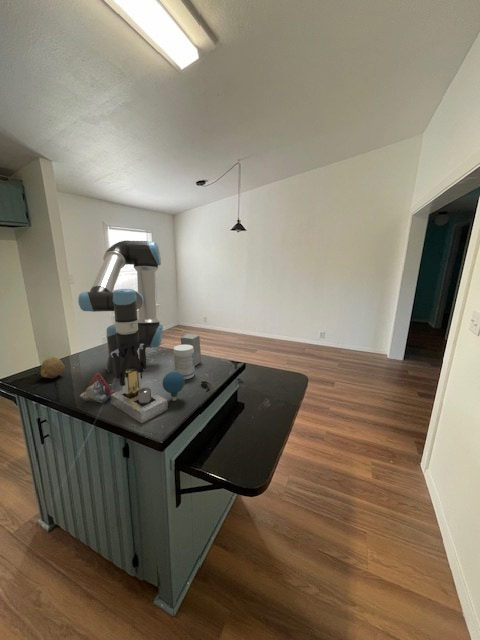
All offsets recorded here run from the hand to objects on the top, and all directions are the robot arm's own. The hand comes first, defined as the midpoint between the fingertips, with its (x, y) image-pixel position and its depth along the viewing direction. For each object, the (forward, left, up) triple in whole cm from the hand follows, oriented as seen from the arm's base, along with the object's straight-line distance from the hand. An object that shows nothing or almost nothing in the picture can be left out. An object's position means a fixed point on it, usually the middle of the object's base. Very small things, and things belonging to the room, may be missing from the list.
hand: (132, 389), depth 98 cm
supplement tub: (-3, +29, -6) cm, 30 cm away
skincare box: (-12, +42, -6) cm, 44 cm away
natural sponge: (-49, -10, -6) cm, 50 cm away
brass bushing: (0, 0, -4) cm, 4 cm away
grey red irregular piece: (-13, -6, -6) cm, 16 cm away
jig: (+4, 0, -6) cm, 7 cm away
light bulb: (+11, +11, -6) cm, 17 cm away
